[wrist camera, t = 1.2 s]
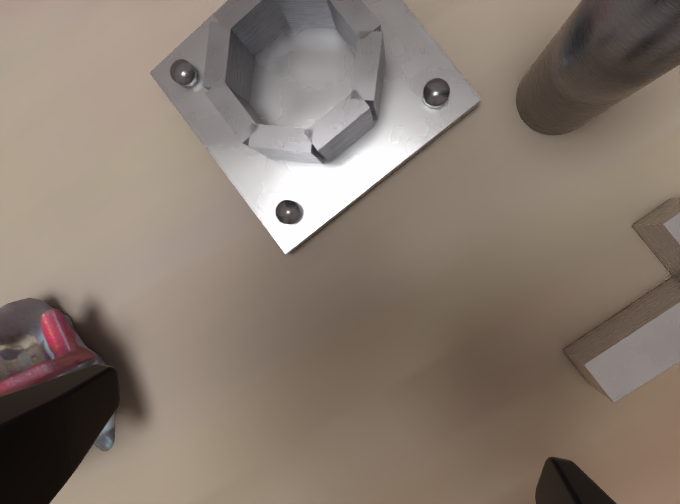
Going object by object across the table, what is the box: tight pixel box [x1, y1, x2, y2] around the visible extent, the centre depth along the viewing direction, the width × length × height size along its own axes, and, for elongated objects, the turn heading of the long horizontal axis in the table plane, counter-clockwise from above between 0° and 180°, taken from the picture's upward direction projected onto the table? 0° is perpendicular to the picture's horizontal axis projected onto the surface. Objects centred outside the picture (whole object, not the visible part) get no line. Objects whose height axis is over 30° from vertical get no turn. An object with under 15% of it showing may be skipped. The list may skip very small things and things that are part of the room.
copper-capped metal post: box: [516, 0, 680, 135], centre depth 14 cm, size 4×4×12 cm
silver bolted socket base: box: [150, 0, 481, 254], centre depth 20 cm, size 12×12×4 cm
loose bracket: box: [564, 198, 680, 402], centre depth 19 cm, size 5×8×2 cm, turn 128°
